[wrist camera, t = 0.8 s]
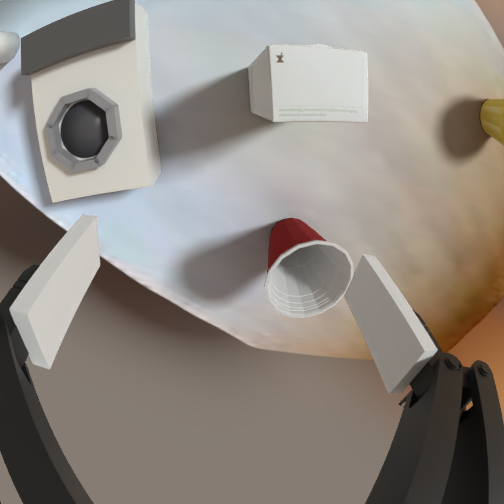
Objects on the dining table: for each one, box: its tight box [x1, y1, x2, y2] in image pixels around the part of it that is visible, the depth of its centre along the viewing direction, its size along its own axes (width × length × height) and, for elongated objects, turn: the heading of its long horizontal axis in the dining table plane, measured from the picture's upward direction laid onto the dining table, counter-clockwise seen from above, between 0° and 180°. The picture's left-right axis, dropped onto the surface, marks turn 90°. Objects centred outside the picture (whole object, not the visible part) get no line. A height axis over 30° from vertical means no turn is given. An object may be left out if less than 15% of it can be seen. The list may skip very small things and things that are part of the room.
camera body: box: [21, 0, 162, 203], centre depth 27 cm, size 22×14×8 cm, turn 3°
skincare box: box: [248, 44, 368, 123], centre depth 26 cm, size 8×7×16 cm
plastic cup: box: [264, 218, 353, 318], centre depth 38 cm, size 11×11×12 cm
